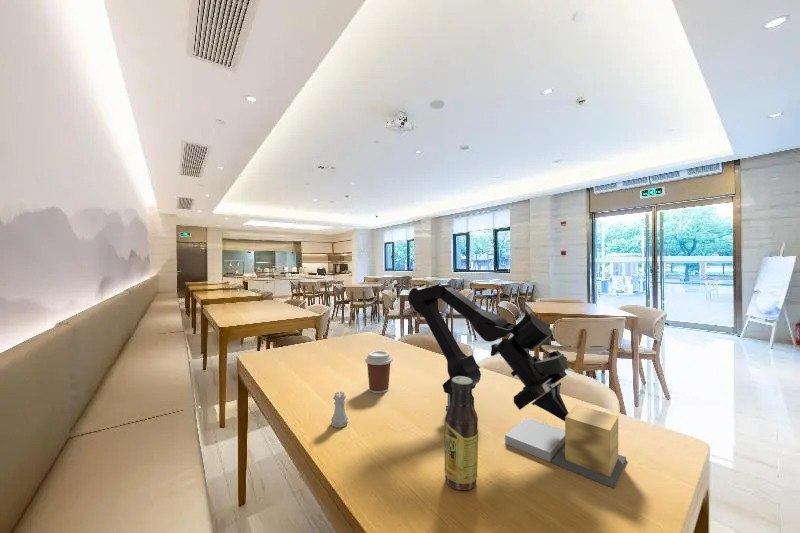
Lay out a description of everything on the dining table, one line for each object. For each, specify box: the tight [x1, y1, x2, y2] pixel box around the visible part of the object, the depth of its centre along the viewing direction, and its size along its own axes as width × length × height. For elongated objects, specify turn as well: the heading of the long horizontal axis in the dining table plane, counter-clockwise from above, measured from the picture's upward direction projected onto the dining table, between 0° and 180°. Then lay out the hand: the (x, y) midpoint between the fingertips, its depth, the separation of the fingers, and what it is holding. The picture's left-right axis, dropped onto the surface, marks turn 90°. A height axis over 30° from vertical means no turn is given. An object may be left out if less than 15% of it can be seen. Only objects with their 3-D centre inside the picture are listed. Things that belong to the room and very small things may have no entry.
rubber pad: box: [551, 444, 627, 489], centre depth 67 cm, size 11×12×1 cm
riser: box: [504, 417, 565, 463], centre depth 75 cm, size 10×12×2 cm
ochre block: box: [564, 404, 619, 477], centre depth 67 cm, size 8×8×9 cm
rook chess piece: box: [330, 391, 349, 429], centre depth 84 cm, size 4×4×8 cm
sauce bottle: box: [444, 376, 479, 491], centre depth 61 cm, size 6×6×20 cm
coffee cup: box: [364, 350, 393, 394], centre depth 107 cm, size 9×9×12 cm
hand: (569, 421), depth 70 cm, fingers closed
